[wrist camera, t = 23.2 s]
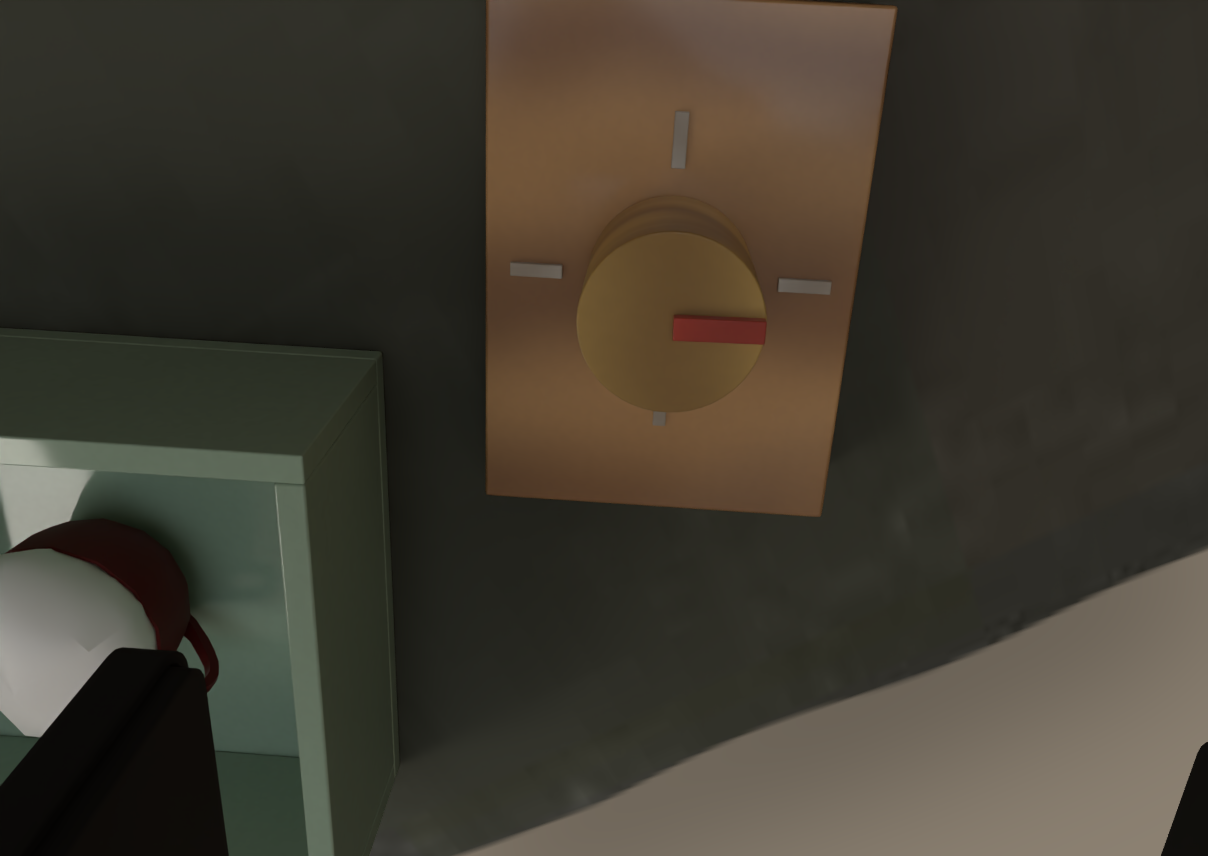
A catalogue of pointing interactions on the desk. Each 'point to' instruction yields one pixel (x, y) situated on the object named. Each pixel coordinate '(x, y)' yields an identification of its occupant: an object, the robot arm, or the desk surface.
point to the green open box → (235, 549)
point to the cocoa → (85, 613)
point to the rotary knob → (671, 306)
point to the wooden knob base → (689, 169)
